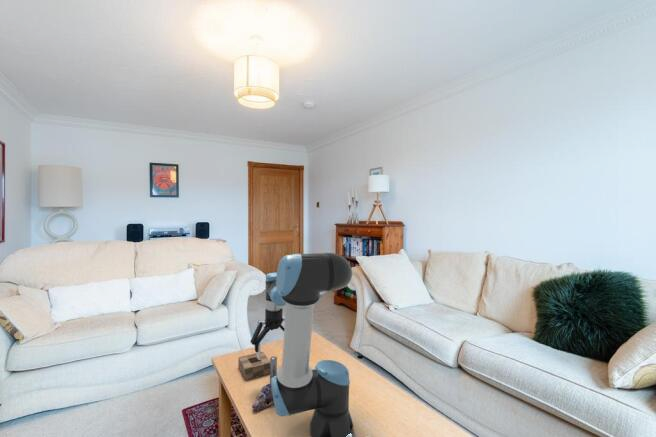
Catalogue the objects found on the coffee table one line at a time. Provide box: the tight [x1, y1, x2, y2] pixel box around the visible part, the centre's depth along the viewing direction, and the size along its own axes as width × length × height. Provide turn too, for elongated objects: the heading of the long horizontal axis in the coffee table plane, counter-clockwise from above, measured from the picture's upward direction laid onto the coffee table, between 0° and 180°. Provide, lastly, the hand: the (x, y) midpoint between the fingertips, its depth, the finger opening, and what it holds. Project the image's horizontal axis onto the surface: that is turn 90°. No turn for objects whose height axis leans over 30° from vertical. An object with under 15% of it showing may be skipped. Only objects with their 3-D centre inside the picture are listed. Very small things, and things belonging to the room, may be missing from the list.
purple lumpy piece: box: [251, 382, 274, 412], centre depth 120 cm, size 12×8×6 cm, turn 141°
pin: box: [269, 356, 278, 382], centre depth 136 cm, size 3×3×10 cm
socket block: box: [237, 351, 270, 381], centre depth 144 cm, size 12×12×5 cm
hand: (273, 354), depth 136 cm, fingers open, 13 cm apart
